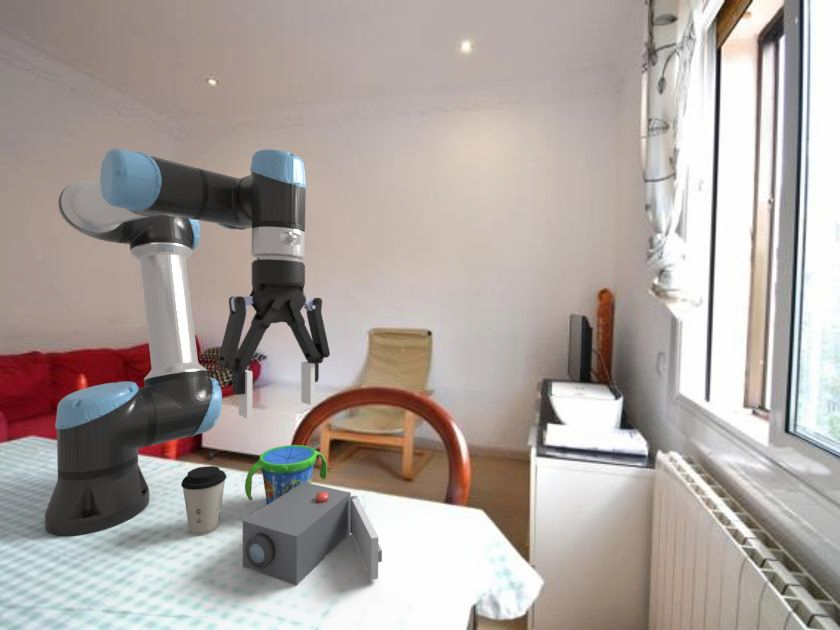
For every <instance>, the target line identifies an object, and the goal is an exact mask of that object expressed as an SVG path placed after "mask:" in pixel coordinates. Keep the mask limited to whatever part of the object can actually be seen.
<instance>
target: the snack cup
mask: <svg viewBox="0 0 840 630" xmlns="http://www.w3.org/2000/svg"><path fill="white" fill-rule="evenodd" d="M317 456H318V457H319V458H320V459H321V460H320V461H321V464H320V471H319V476H320V478H321V479H322V480H326V479H327V476H328V465H327V461H326V458H325V456H324V455H323V454H322V453H321V452H319V451H318V450H316V449H314V448H313V447H311V446H307V445H299V444H293V445H292V444H291V445H290V444H289V445H282V446H276V447H273V448H270V449H268V450H266V451H264V452H262V453H261V454H260V456H259V459H258V460H257V461H256V462H255V463H254V464H252V466H251V467H250V468H249V471H248V472H247V475H246V478H245V483H244V490H245V494H246V497H247V499H248V500H249V501H252V500H253V498H252V487H253V486H252V484H253V476H254V475H255V474H256V473H257V472H258V471H260V470H261V473H262V479H263V486H264V487H263V488H264V493H265V499H266V506H267V505H268V504H270V503H271V502H273V501H274V500H276V499H278V498H279V497H281V496H282V495H284V494H285V493H287V492H289V491H290V490H292V489H293V488H295V487H296V486H298V485H299V484H301V483H303V482H306V483H310V484H312V478H313V472H314V471H313V470H314V465H315V463H316V461H317Z"/></svg>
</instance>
